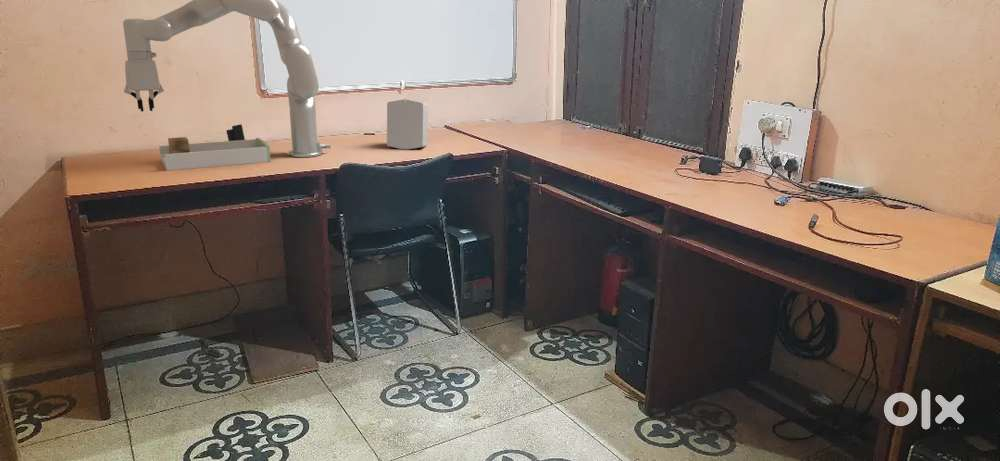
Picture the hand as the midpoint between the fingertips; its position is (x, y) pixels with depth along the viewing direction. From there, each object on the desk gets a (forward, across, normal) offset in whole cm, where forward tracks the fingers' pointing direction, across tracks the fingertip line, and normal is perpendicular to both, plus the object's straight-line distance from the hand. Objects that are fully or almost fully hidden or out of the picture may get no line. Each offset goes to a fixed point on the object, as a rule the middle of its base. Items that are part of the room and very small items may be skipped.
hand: (146, 110), depth 250 cm
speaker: (+19, -31, -14) cm, 39 cm away
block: (+17, -9, 0) cm, 19 cm away
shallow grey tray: (+19, -20, +4) cm, 28 cm away
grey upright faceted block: (+19, -96, +4) cm, 98 cm away
